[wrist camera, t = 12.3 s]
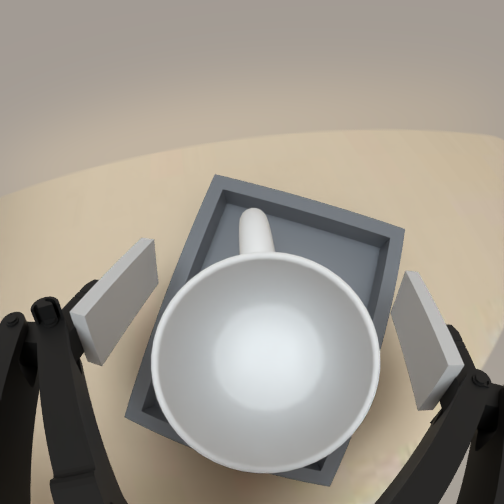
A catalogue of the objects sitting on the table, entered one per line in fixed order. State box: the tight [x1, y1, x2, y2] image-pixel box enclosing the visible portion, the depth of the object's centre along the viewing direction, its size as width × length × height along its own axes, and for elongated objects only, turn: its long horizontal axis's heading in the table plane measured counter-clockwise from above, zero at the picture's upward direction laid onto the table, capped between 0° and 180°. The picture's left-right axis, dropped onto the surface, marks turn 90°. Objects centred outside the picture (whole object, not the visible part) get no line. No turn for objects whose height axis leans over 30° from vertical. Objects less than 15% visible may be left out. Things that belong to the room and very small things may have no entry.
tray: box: [125, 174, 405, 487], centre depth 20 cm, size 14×18×3 cm
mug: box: [151, 208, 380, 473], centre depth 16 cm, size 12×8×10 cm
